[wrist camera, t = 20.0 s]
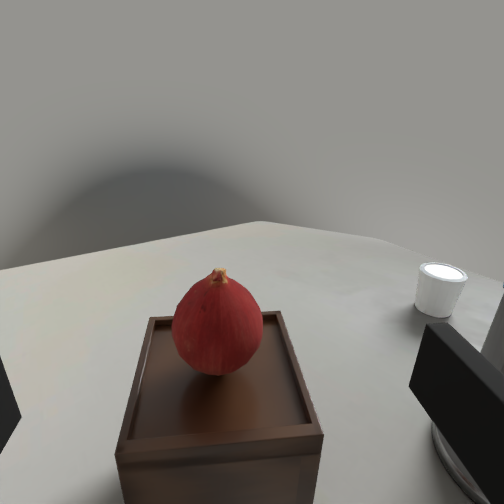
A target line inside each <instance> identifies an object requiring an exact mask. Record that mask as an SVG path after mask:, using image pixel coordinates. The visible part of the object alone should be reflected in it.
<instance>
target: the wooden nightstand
mask: <svg viewBox="0 0 504 504" xmlns="http://www.w3.org/2000/svg"><path fill="white" fill-rule="evenodd" d="M261 314H262V318H263V334H262V340H261V343H260V347H259V348H258V350H257V351H256V352H255V353H254V355H253V356H252V357H251V359H250V360H249V361H248V363H247V364H245V365H244V366H242V367H241V368H239V369H238V370H236V371H234V372H232V373H229V374H225V375H219V376H217V375H208V374H205V373H202V372H199V371H197V370H194V369H193V368H192V367H191V366H189V365H188V364H187V363H186V362H185V361H184V360H183V359H182V358H181V357H180V356H179V354H178V351H177V348H176V346H175V343H174V340H173V337H172V322H173V318H174V316H164V317H150V318H149V322H148V326H147V329H146V333H145V337H144V341H143V345H142V349H141V353H140V357H139V361H138V364H137V368H136V372H135V376H134V380H133V384H132V388H131V392H130V396H129V400H128V403H127V407H126V411H125V415H124V419H123V423H122V427H121V431H120V435H119V439H118V442H117V446H116V450H115V459H116V464H117V469H118V474H119V479H120V484H121V489H122V494H123V498H124V503H125V504H313V500H314V494H315V488H316V482H317V475H318V469H319V463H320V457H321V450H322V444H323V438H324V433H323V430H322V427H321V424H320V421H319V419H318V416H317V413H316V410H315V407H314V404H313V402H312V399H311V396H310V393H309V390H308V387H307V385H306V382H305V379H304V376H303V373H302V370H301V368H300V365H299V362H298V359H297V356H296V353H295V351H294V348H293V345H292V342H291V339H290V336H289V334H288V331H287V328H286V325H285V322H284V319H283V317H282V314H281V311H268V312H261Z"/></svg>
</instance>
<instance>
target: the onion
mask: <svg viewBox="0 0 504 504" xmlns="http://www.w3.org/2000/svg"><path fill="white" fill-rule="evenodd" d="M262 334H263V318H262V314H261V310H260V308H259V306H258V304H257V303H256V301H255V299H254V298H253V296H252V295H251V293H250V292H249V291H248V290H247V289H246V288H245V287H243V286H242V285H241V284H239V283H238V282H236V281H235V280H233V279H230V278H228V276H227V275H226V269H224V268H215V269H214V270H213V272H212V273H211V274H210V275H208V276H207V277H206V278H204V279H202V280H200V281H199V282H197V283H195V284H194V285H193V286H192V287H191V288H190V290H189V291H188V292H187V293H186V294H185V296H184V297H183V299H182V300H181V301H180V303H179V304H178V305H177V308H176V311H175V314H174V318H173V322H172V337H173V340H174V343H175V346H176V348H177V351H178V354H179V356H180V357H181V358H182V359H183V360H184V361H185V362H186V363H187V364H188V365H189V366H191V367H192V368H193V369H194V370H197V371H199V372H202V373H205V374H208V375H217V376H219V375H225V374H229V373H232V372H234V371H236V370H238V369H239V368H241V367H242V366H244V365H245V364H247V363H248V361H249V360H250V359H251V357H252V356H253V355H254V353H255V352H256V351H257V350H258V348H259V347H260V343H261V340H262Z"/></svg>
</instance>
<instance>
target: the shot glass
mask: <svg viewBox="0 0 504 504" xmlns="http://www.w3.org/2000/svg"><path fill="white" fill-rule="evenodd" d="M467 278H468V276H467V275H466V273H465V272H463V271H462V270H460V269H458V268H456V267H453V266H450V265H447V264H442V263H424V264H422V265H421V266H420V269H419V276H418V283H417V291H416V298H415V307H416V308H417V309H418V310H419V311H421V312H422V313H424V314H427V315H429V316H432V317H438V318H446V317H449V316H450V315H451V314H452V311H453V309H454V307H455V305H456V302H457V300H458V298H459V296H460V294H461V291H462V289H463V287H464V285H465V282H466V280H467Z"/></svg>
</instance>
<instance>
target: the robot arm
mask: <svg viewBox="0 0 504 504" xmlns="http://www.w3.org/2000/svg"><path fill="white" fill-rule="evenodd" d="M503 288H504V284H503ZM409 388H410V389H411V391H412V392H413V394H414V395H415V396H416V398H417V399H418V401H419V402H420V404H421V405H422V406H423V408H424V409H425V411H426V412H427V414H428V415H429V416H430V418H431V419H432V421H433V422H432V436H433V441H434V444H435V447H436V450H437V453H438V455H439V457H440V459H441V461H442V463H443V464H444V466H445V468H446V469H447V471H448V472H449V473H450V475H451V476H452V478H453V479H454V480H455V481H456V483H457V484H458V485H459V486H460V487H461V488H462V490H463V491H464V492H465V493H466V494H467V495H468V496H469V497H470V498H471V499H472V500H473V501H474V502H475V503H476V504H504V294H503V297H502V299H501V302H500V304H499V307H498V309H497V312H496V314H495V317H494V319H493V322H492V325H491V327H490V330H489V332H488V335H487V337H486V340H485V342H484V345H483V347H482V350H481V353H480V352H478V351H477V350H476V349H475V348H474V347H473V346H472V345H471V344H470V343H469V342H468V341H467V340H466V339H465V338H463V337H462V336H461V335H460V334H459V333H458V332H457V331H456V330H455V329H454V328H453V327H452V326H451V325H450V324H448V323H433V324H426V326H425V330H424V333H423V337H422V341H421V344H420V348H419V351H418V355H417V358H416V362H415V365H414V369H413V372H412V376H411V380H410V383H409ZM20 419H21V414H20V411H19V408H18V405H17V402H16V400H15V397H14V394H13V391H12V388H11V386H10V383H9V380H8V377H7V374H6V371H5V369H4V366H3V363H2V360H1V357H0V454H1V452H2V450H3V448H4V447H5V445H6V443H7V442H8V440H9V438H10V436H11V435H12V433H13V431H14V429H15V428H16V426H17V424H18V423H19V421H20Z"/></svg>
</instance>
